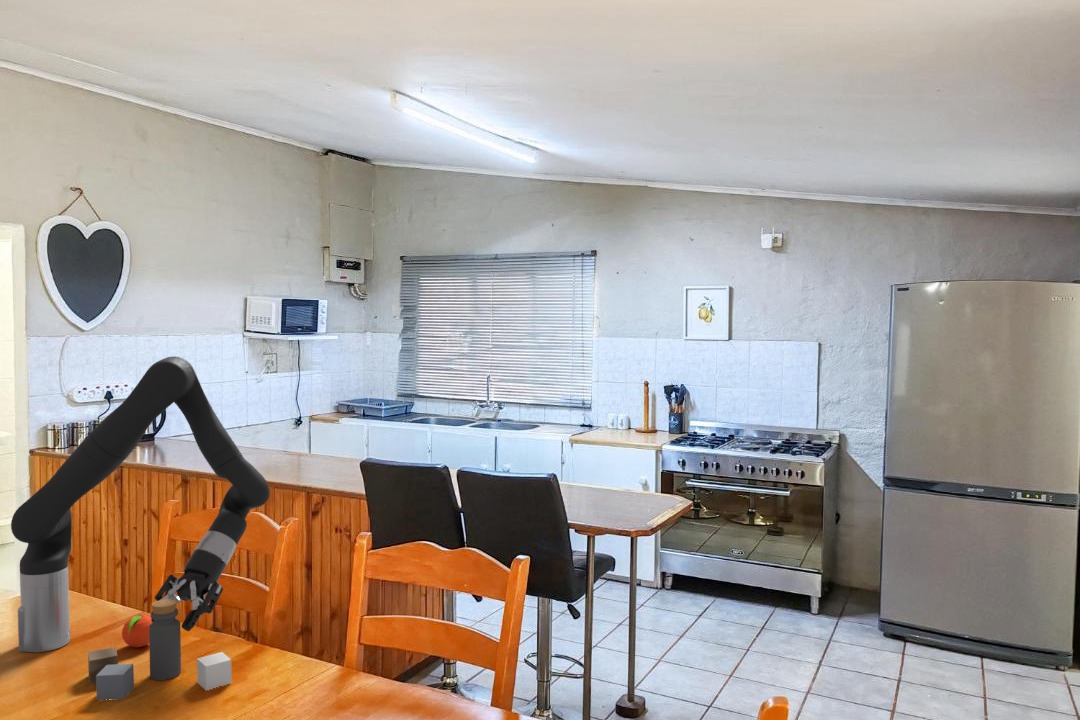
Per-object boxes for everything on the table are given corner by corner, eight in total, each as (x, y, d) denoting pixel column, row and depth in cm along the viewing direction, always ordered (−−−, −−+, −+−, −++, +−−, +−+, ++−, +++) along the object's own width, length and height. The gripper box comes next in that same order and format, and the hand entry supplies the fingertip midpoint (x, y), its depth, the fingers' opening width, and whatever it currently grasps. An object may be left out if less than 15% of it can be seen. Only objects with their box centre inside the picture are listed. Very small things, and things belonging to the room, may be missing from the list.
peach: (144, 654, 179) (144, 622, 179) (113, 654, 179) (112, 622, 179) (162, 640, 187) (161, 609, 187) (132, 640, 187) (131, 609, 187)
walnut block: (90, 685, 164) (89, 660, 164) (88, 676, 169) (88, 652, 168) (118, 679, 167) (117, 655, 167) (116, 670, 171) (115, 647, 171)
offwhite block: (206, 691, 162) (205, 666, 162) (197, 682, 166) (197, 658, 165) (231, 683, 165) (231, 659, 165) (222, 675, 169) (222, 651, 169)
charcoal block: (96, 701, 158) (96, 675, 157) (107, 689, 163) (106, 664, 162) (124, 700, 158) (123, 674, 158) (133, 688, 163) (133, 663, 163)
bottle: (169, 681, 166) (167, 608, 165) (143, 679, 167) (142, 606, 166) (187, 669, 172) (185, 599, 171) (162, 667, 173) (160, 596, 172)
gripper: (177, 544, 180) (133, 613, 170) (226, 551, 175) (185, 623, 165) (196, 561, 185) (155, 629, 175) (245, 569, 180) (206, 639, 170)
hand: (169, 626), depth 170 cm, fingers open, 8 cm apart
